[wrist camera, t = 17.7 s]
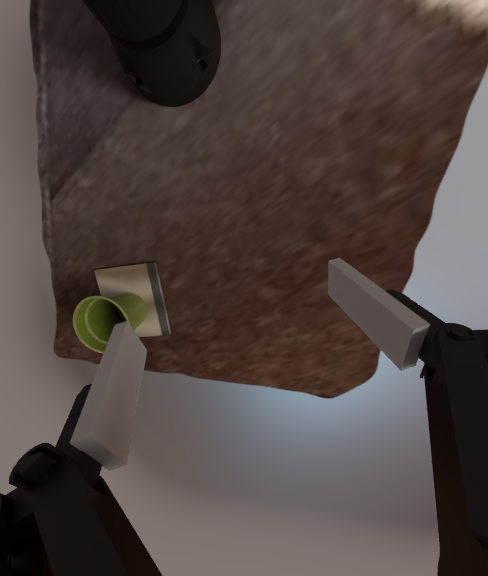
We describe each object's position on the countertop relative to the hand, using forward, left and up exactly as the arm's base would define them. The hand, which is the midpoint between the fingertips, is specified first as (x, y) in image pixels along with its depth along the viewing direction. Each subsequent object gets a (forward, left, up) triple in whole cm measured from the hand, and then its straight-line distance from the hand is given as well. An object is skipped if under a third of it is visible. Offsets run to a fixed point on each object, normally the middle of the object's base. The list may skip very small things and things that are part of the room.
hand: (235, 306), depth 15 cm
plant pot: (+6, -24, -26) cm, 36 cm away
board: (+5, -24, -26) cm, 36 cm away
